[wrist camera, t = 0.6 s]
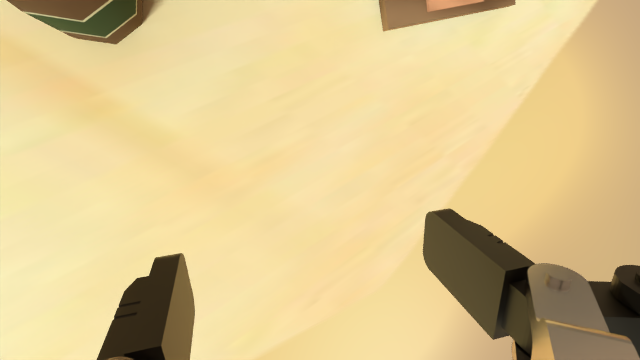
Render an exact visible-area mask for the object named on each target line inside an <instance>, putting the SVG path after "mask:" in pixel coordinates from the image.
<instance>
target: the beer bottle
mask: <svg viewBox="0 0 640 360" xmlns="http://www.w3.org/2000/svg"><path fill="white" fill-rule="evenodd" d="M7 1H8V2H10V3H11V4H13V5H14V6H15V7H17V8H18V9H20V10H21V11H22V12H24V13H26V14H28V15H30V16H32V17H34V18H36V19H38V20H40V21H42V22H44V23H46V24H48V25H50V26H52V27H54V28H55V29H57V30H59V31H61V32H63V33H65V34H67V35H69V36H71V37H74V38H77V39H84V40H91V41H98V42H105V43H112V44H117V43H119V42H120V41H121V40H122V39H124V38H125V37H126V36H127V35H129V34H130V33H131V32H133V31H134V30H135V29H136V28H138V27H139V26H140V25H141V24H142V0H7Z"/></svg>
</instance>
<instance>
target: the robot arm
mask: <svg viewBox="0 0 640 360" xmlns="http://www.w3.org/2000/svg"><path fill="white" fill-rule="evenodd" d="M423 256H424V260H425V263H426V265H427V267H428V268H429V270H430V271H431V272H432V273H433V274H434V275H435V276H436V277H437V278H438V279H439V281H440V282H441V283H442V284H443V285H444V286H445V287H446V288H447V289H448V291H449V292H450V293H451V294H452V295H453V296H454V297H455V298H456V299H457V300H458V302H459V303H460V304H461V305H462V306H463V307H464V308H465V309H466V310H467V312H468V313H469V314H470V315H471V316H472V317H473V318H474V319H475V320H476V321H477V323H479V325H480V326H481V327H482V328H483V329H484V330H485V331H486V332H487V334H488V335H489V336H490V337H491V338H492V339H493V340H494V339H497V338H501V337H505V336H509V335H510V336H511V337H512V338H513V343H512V360H640V266H636V265H623V266H620V267H618V268H617V269H616V270H615V273H614V276H613V279H612V282H594V281H587V280H586V279H585V278H584V277H582V276H581V275H580V274H578V273H577V272H575V271H573V270H570V269H568V268H565V267H563V266H559V265H555V264H547V263H541V264H535V263H533V262H532V261H531V260H529V259H528V258H526V257H525V256H524V255H522V254H521V253H519V252H518V251H517V250H515V249H514V248H512V247H511V246H509V245H508V244H506V243H503V241H502V240H501V239H500V238H498V237H497V236H494V235H493V233H491V232H489V231H488V230H487V229H486V228H484V227H483V226H481V225H478V224H476V223H473V222H471V221H468V220H466V219H464V218H463V217H461V216H460V215H459V214H458V213H456V212H455V211H453V210H452V209H443V210H437V211H432V212H428V213H427V215H426V218H425V230H424V244H423ZM194 316H195V307H194V298H193V292H192V288H191V284H190V279H189V275H188V270H187V266H186V262H185V258H184V255H183V254H182V253H180V254H174V255H168V256H162V257H156V258H155V259H154V262H153V265H152V268H151V271H150V274H149V276H147V277H141V278H137V279H136V280H135V281H134V282H133V283H132V284H131V285H130V286H129V287H128V288H127V289H126V290H125V291H124V294H123V296H122V299H121V301H120V303H119V308H117V311H116V313H115V316H114V320H113V321H112V323H111V326H110V328H109V331H108V333H107V336H106V338H105V341H104V343H103V345H102V348H101V350H100V353H99V355H98V358H97V360H190V353H191V344H192V335H193V326H194Z"/></svg>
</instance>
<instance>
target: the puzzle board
mask: <svg viewBox="0 0 640 360" xmlns="http://www.w3.org/2000/svg"><path fill="white" fill-rule="evenodd" d="M379 5H380V12H381V19H382V26H383V31H388V30H393V29H398V28H403V27H408V26H413V25H418V24H423V23H428V22H433V21H438V20H443V19H448V18H453V17H458V16H463V15H468V14H473V13H478V12H484V11H489V10H494V9H499V8H504V7H508V6H512V5H515V0H379Z"/></svg>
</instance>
